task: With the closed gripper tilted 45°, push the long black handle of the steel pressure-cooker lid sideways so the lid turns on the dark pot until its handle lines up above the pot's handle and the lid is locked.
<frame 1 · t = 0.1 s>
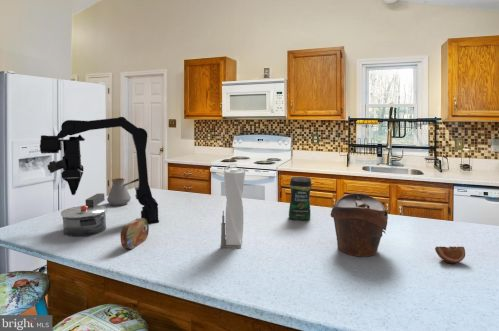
hand: (74, 192, 135), 15 cm above the countertop, tool pointing down, fingers open, 9 cm apart
tin: (135, 244, 121), on the countertop
coffee pot: (128, 204, 177), on the countertop
coffee jar: (299, 218, 153), on the countertop
brown flower pot: (357, 250, 116), on the countertop
skyscraper: (233, 244, 122), on the countertop
cooker lid: (88, 204, 139), point 9 cm above the countertop, hinge at -30.0°
fruit slice: (448, 262, 107), on the countertop
cooker pot: (85, 230, 135), on the countertop
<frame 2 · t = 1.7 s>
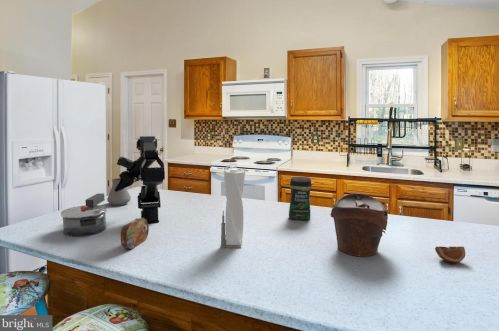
hand: (117, 189, 147), 14 cm above the countertop, tool tilted 45°, fingers open, 7 cm apart
nothing on the countertop moved.
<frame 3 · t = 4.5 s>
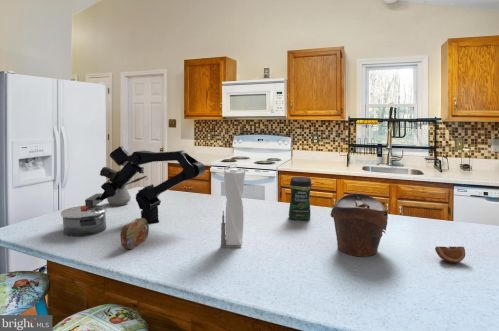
hand: (100, 199, 147), 9 cm above the countertop, tool tilted 45°, fingers closed, pressing on cooker lid
cooker lid: (88, 204, 138), point 9 cm above the countertop, hinge at -28.5°, touching gripper
everything else where it was.
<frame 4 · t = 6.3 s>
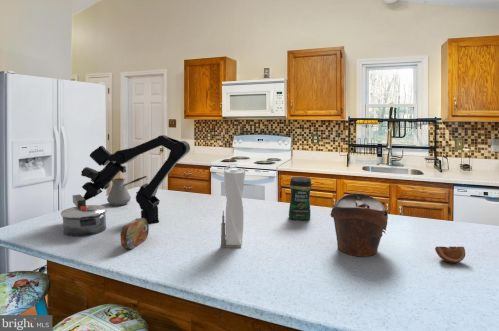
hand: (83, 200, 146), 9 cm above the countertop, tool tilted 45°, fingers closed
cooker lid: (82, 205, 138), point 9 cm above the countertop, hinge at 2.8°, touching gripper
everything else where it was.
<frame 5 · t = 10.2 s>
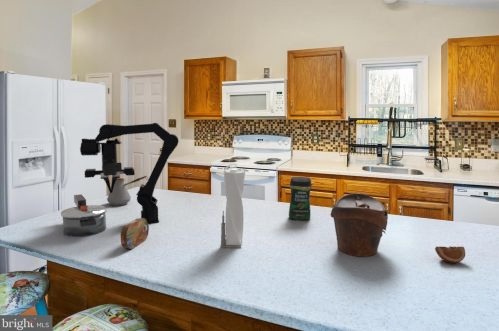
hand: (111, 192, 143), 13 cm above the countertop, tool pointing down, fingers closed
cooker lid: (82, 205, 138), point 9 cm above the countertop, hinge at 1.1°
everything else where it was.
at the end: cooker lid at +1° (first picture: -30°) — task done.
